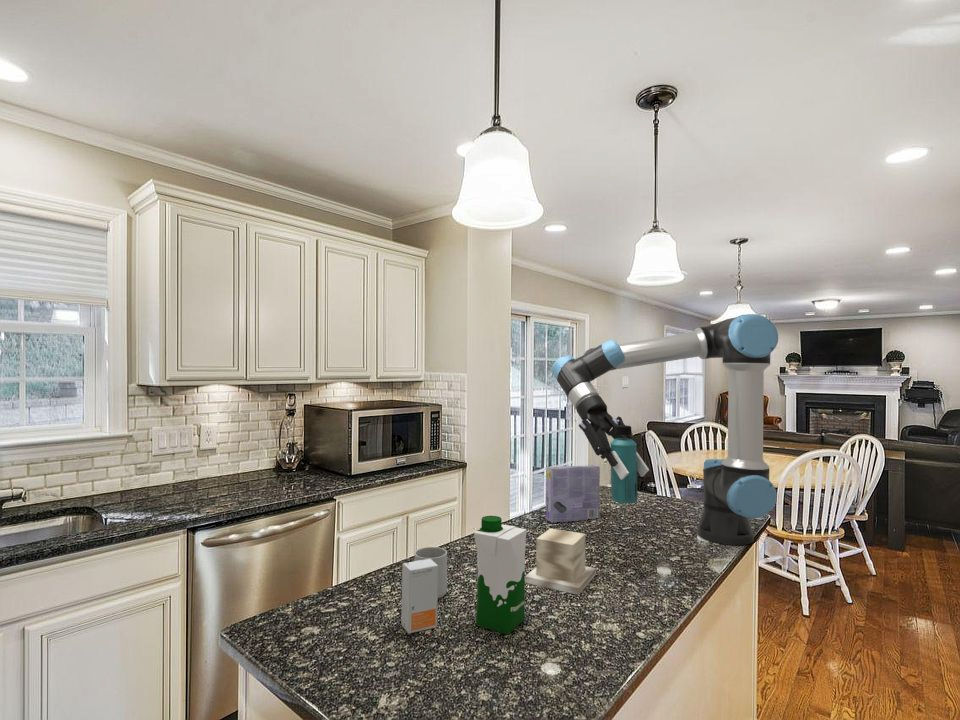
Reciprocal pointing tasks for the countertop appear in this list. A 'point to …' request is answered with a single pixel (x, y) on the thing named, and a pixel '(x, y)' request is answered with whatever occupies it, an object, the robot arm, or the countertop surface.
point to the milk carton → (500, 575)
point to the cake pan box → (572, 493)
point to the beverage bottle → (627, 453)
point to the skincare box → (419, 595)
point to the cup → (440, 559)
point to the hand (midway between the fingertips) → (635, 474)
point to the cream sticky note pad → (561, 562)
